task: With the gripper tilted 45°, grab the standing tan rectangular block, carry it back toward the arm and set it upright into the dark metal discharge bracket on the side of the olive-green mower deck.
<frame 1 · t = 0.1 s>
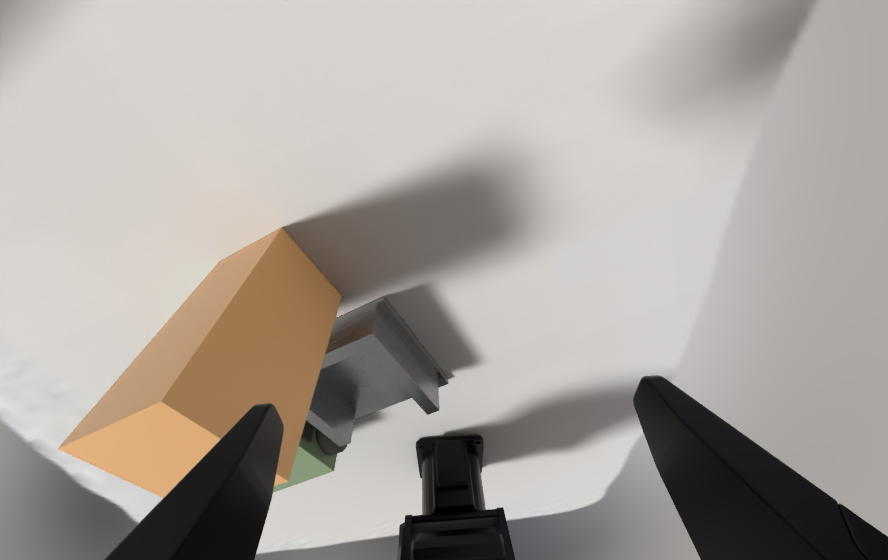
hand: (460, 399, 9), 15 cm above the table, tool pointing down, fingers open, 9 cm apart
mower deck: (261, 407, 31), on the table
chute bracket: (364, 364, 29), on the table
tan rectangular block: (283, 279, 24), on the table
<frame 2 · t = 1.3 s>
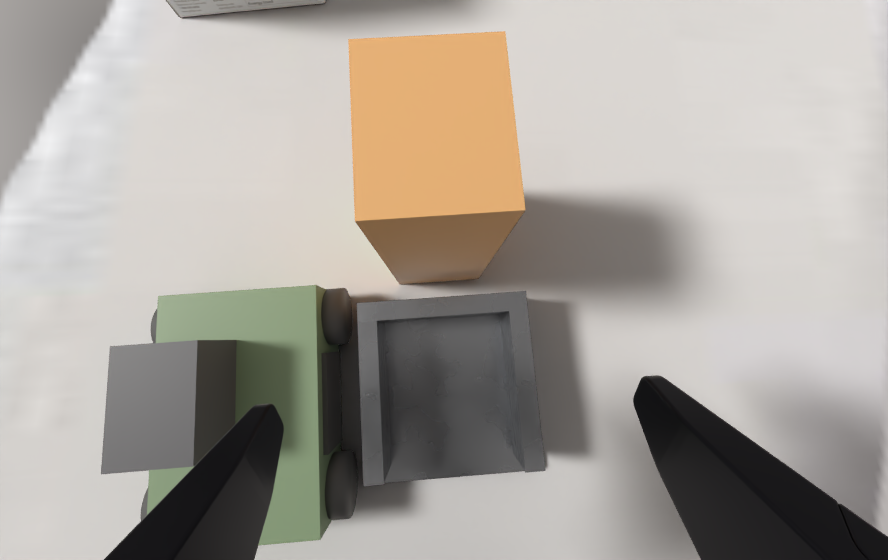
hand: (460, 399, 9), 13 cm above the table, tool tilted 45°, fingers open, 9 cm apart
mower deck: (272, 398, 22), on the table
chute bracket: (447, 385, 22), on the table
tan rectangular block: (435, 235, 23), on the table
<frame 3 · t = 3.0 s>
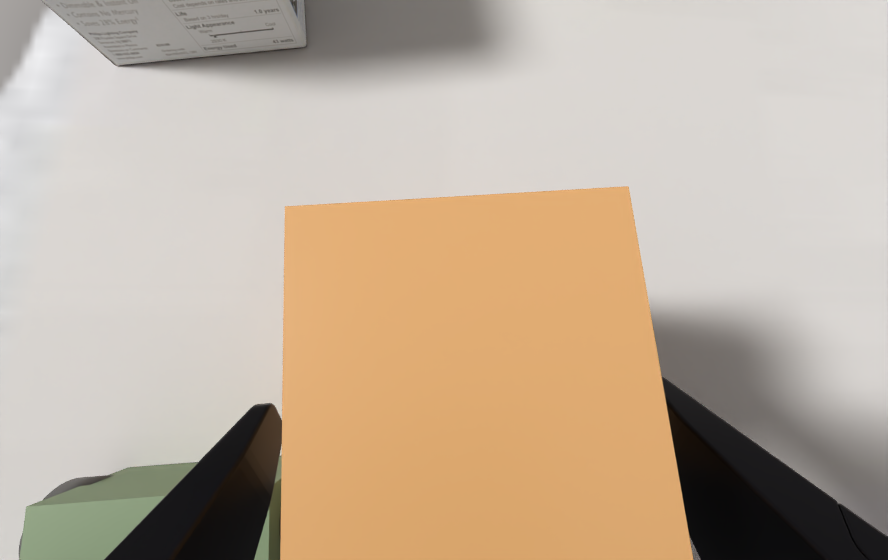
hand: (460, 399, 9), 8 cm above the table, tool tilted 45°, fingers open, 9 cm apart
light bulb box: (214, 13, 21), on the table
tan rectangular block: (449, 366, 17), on the table
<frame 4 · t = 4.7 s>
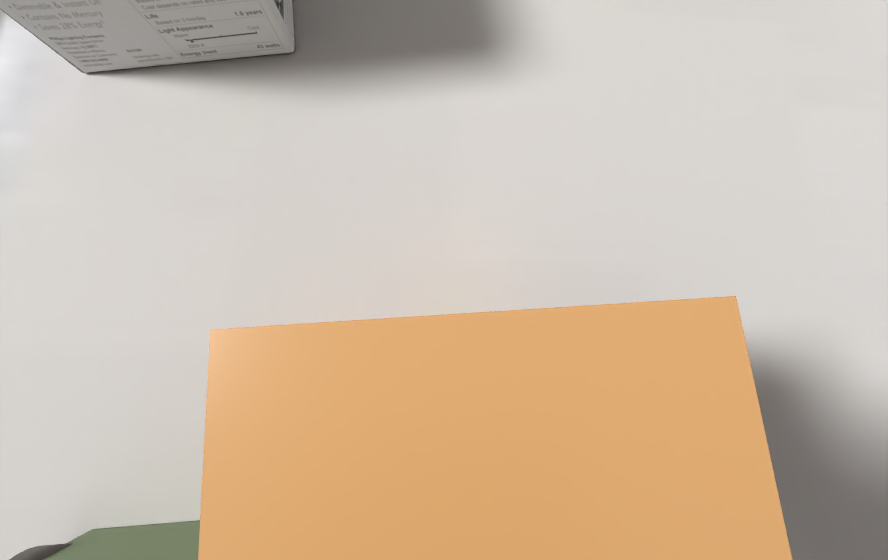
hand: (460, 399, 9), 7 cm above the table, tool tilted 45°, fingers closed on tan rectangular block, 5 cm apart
light bulb box: (194, 15, 19), on the table
tan rectangular block: (452, 412, 15), on the table, touching gripper
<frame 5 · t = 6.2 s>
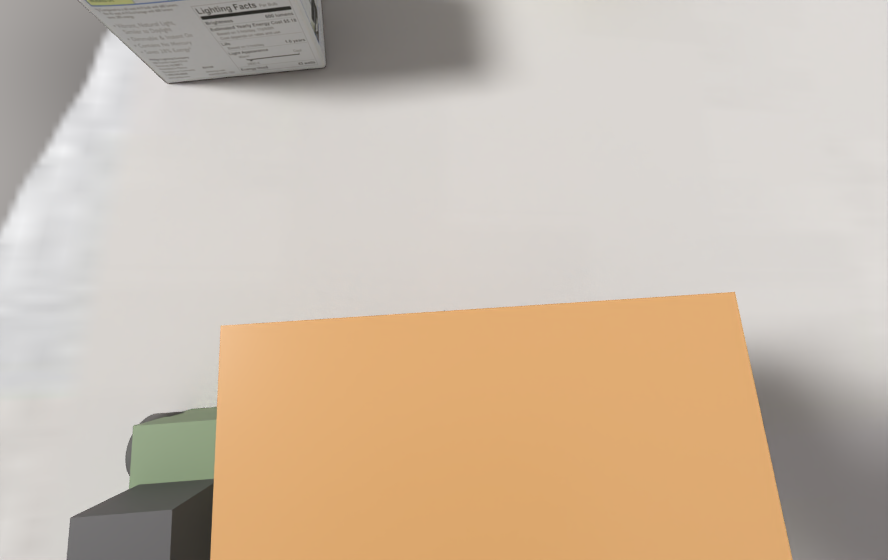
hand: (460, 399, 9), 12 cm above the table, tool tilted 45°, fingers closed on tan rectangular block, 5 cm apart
mower deck: (263, 519, 19), on the table
light bulb box: (247, 37, 24), on the table
tan rectangular block: (453, 410, 15), point 5 cm above the table, touching gripper
when the fingers open (8 cm above the table, at t = 8.0 s): tan rectangular block drops 1 cm, resting on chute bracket.
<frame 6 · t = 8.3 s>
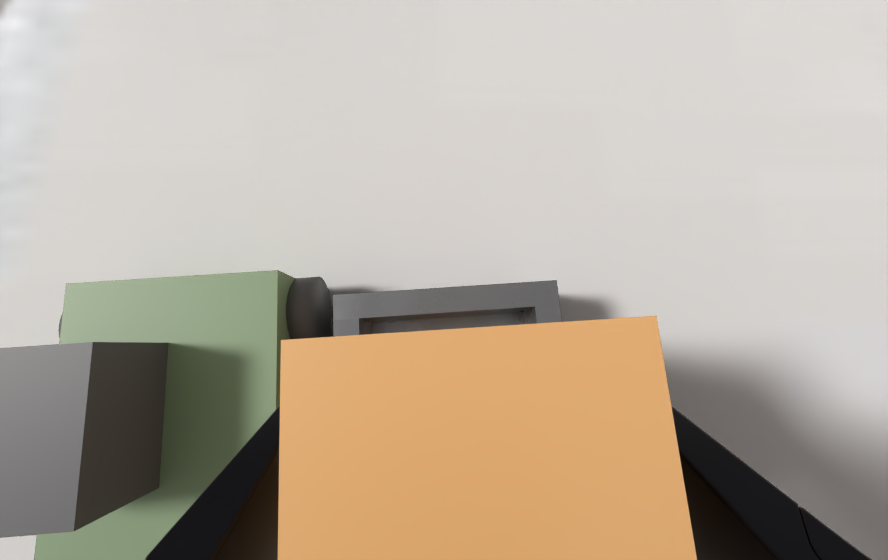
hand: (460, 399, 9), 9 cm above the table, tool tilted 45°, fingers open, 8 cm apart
mower deck: (226, 419, 17), on the table
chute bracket: (451, 403, 17), on the table
tan rectangular block: (451, 406, 17), resting on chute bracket
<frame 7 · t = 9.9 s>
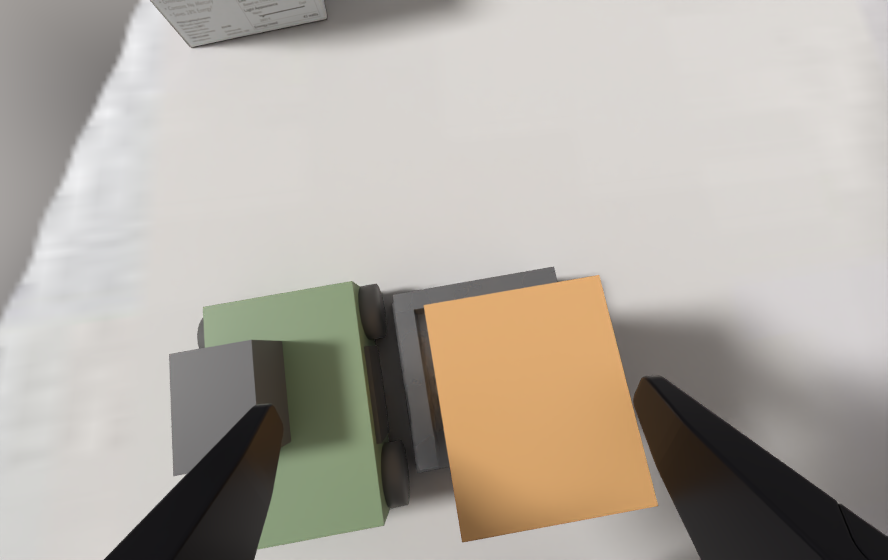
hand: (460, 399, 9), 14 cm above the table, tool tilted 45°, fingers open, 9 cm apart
mower deck: (316, 399, 22), on the table
light bulb box: (255, 3, 28), on the table
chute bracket: (484, 369, 22), on the table
tan rectangular block: (485, 370, 22), resting on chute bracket
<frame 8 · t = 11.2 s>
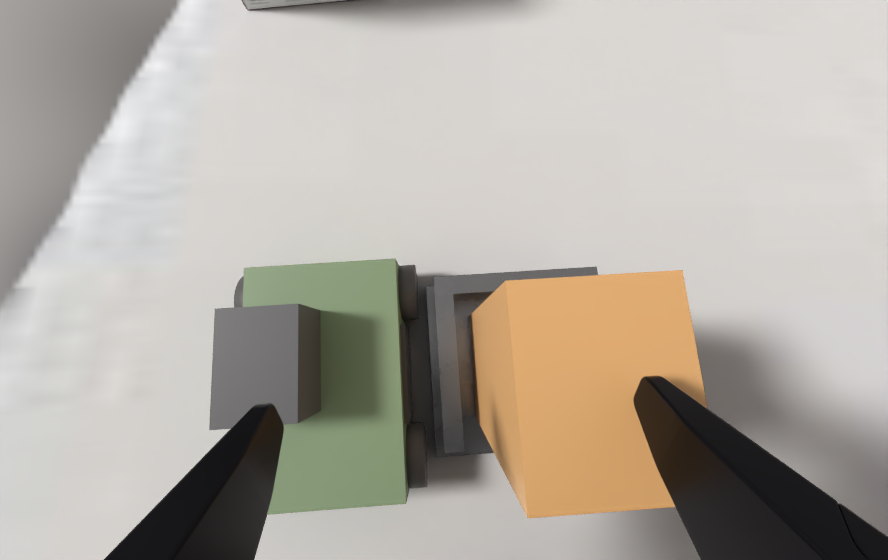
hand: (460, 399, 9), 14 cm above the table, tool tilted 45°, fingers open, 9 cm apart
mower deck: (341, 373, 22), on the table
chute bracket: (511, 362, 22), on the table
tan rectangular block: (513, 363, 22), resting on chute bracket
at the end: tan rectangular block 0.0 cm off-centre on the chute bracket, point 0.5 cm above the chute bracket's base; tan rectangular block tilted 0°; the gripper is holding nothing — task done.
